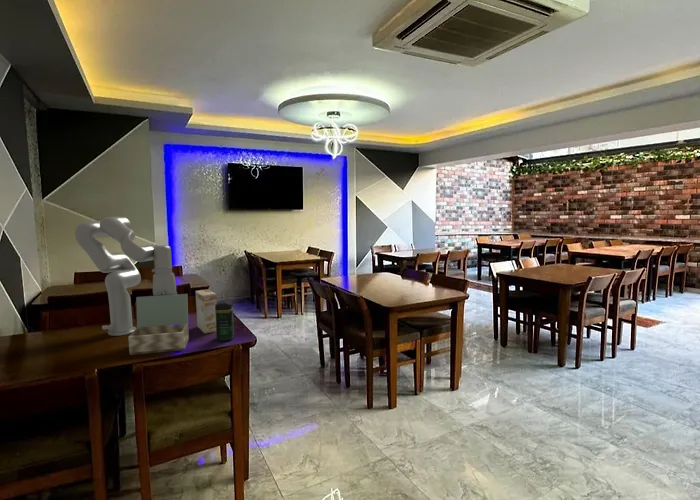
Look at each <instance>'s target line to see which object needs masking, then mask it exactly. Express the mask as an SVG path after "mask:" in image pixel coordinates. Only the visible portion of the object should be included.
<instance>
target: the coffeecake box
mask: <svg viewBox="0 0 700 500" xmlns="http://www.w3.org/2000/svg"><path fill="white" fill-rule="evenodd" d="M194 292H195V306H196V307H195V308H196V323H197V325H196V326H197V328H199V329H200V331H201V332H203V333H204V334H209V333H216V313H215V305H216V303H217V293H215V292H214V291H211V290H210V289H200V290H195V291H194Z"/></svg>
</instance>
